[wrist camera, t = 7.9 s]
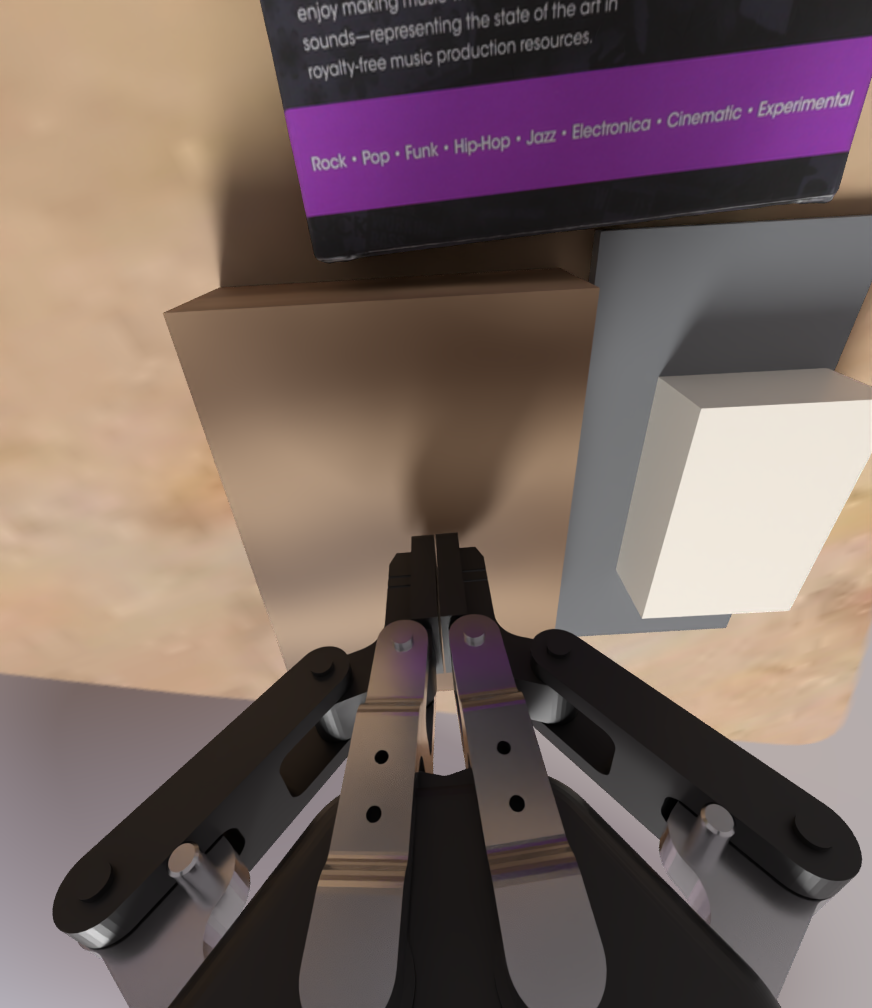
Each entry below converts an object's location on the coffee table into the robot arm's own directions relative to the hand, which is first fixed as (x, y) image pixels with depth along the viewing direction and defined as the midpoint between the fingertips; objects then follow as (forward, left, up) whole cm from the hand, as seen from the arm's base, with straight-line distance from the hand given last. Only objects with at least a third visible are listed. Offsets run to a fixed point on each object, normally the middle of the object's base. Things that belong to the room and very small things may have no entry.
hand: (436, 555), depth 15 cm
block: (+1, +11, -1) cm, 11 cm away
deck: (0, -1, -5) cm, 5 cm away
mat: (0, +10, -5) cm, 11 cm away
